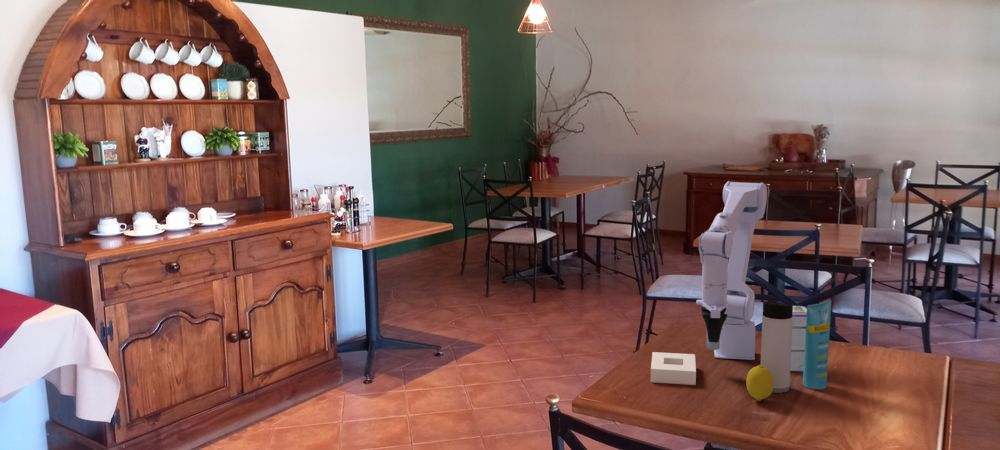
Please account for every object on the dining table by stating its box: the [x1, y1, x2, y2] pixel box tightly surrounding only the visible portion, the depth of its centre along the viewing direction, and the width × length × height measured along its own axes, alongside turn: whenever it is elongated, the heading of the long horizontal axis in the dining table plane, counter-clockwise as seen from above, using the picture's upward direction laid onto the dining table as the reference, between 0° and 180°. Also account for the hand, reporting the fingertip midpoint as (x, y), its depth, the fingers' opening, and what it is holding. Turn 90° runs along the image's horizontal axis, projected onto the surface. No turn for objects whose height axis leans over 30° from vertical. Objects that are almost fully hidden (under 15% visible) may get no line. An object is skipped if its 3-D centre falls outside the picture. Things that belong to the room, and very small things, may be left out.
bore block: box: [650, 351, 697, 386], centre depth 179 cm, size 10×12×3 cm
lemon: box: [745, 364, 774, 402], centre depth 163 cm, size 6×6×8 cm
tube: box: [802, 300, 832, 390], centre depth 169 cm, size 7×5×19 cm, turn 123°
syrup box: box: [790, 305, 807, 372], centre depth 182 cm, size 6×6×14 cm
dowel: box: [705, 333, 720, 351], centre depth 179 cm, size 3×3×7 cm
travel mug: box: [760, 301, 794, 394], centre depth 168 cm, size 6×7×20 cm
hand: (713, 339), depth 179 cm, fingers closed on dowel, 3 cm apart
